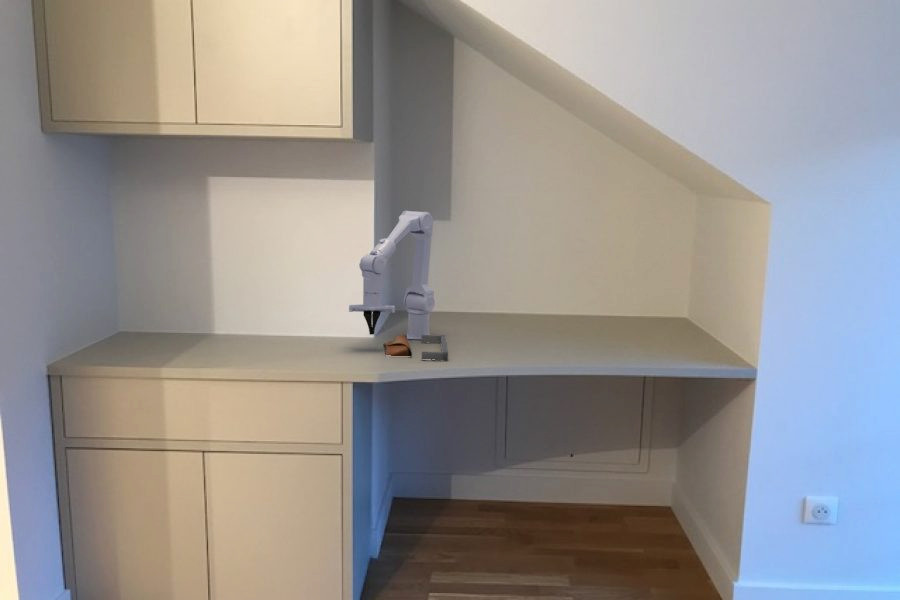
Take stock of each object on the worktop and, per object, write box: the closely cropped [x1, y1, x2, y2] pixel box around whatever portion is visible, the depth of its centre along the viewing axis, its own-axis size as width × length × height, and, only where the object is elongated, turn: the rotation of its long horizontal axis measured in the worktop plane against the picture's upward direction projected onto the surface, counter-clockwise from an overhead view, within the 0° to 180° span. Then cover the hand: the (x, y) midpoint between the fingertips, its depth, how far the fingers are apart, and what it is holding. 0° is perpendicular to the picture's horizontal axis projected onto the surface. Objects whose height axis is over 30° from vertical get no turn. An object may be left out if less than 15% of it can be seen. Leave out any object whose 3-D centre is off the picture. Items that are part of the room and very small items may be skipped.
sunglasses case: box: [382, 334, 413, 357], centre depth 228 cm, size 18×7×7 cm
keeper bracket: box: [420, 334, 449, 360], centre depth 229 cm, size 24×8×2 cm, turn 3°
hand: (371, 333), depth 227 cm, fingers closed
